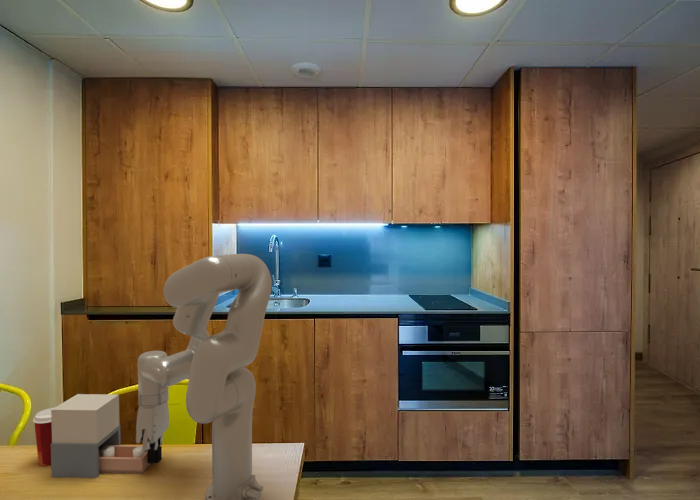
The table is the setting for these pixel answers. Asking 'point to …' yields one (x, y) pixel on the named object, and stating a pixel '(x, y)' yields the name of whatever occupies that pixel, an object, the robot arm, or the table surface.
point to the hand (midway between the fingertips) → (154, 461)
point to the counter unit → (83, 434)
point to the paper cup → (43, 436)
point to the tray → (123, 459)
